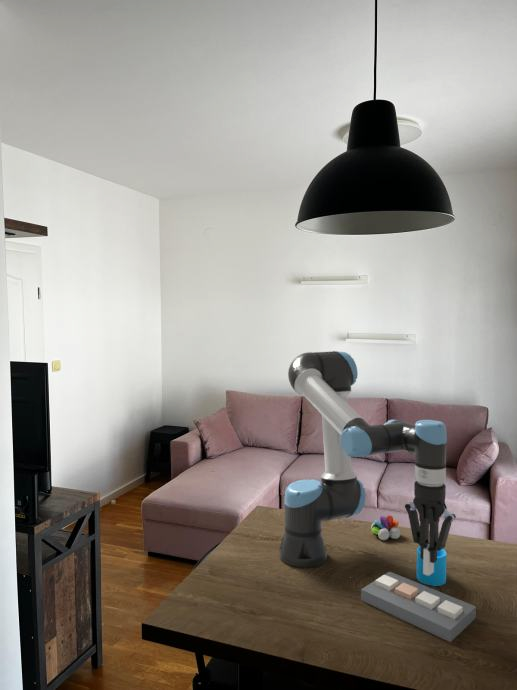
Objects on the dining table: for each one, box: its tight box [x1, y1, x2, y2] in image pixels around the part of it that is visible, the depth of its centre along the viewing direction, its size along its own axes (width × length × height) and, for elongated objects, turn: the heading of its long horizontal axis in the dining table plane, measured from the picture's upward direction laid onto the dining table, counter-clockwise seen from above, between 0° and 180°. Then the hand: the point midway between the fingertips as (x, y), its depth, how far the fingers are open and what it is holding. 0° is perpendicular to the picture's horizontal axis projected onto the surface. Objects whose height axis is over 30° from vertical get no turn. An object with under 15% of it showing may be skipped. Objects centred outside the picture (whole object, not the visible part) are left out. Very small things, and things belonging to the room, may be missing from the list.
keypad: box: [360, 571, 477, 643], centre depth 136 cm, size 25×14×3 cm, turn 44°
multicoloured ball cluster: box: [370, 514, 401, 541], centre depth 180 cm, size 8×10×7 cm
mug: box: [416, 544, 447, 587], centre depth 153 cm, size 12×8×8 cm
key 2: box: [395, 583, 418, 600], centre depth 138 cm, size 4×4×3 cm
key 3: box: [415, 591, 440, 610], centre depth 134 cm, size 4×4×3 cm
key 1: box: [374, 574, 398, 592], centre depth 142 cm, size 4×4×3 cm
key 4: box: [437, 600, 463, 620], centre depth 129 cm, size 4×4×3 cm
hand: (428, 572), depth 133 cm, fingers closed
